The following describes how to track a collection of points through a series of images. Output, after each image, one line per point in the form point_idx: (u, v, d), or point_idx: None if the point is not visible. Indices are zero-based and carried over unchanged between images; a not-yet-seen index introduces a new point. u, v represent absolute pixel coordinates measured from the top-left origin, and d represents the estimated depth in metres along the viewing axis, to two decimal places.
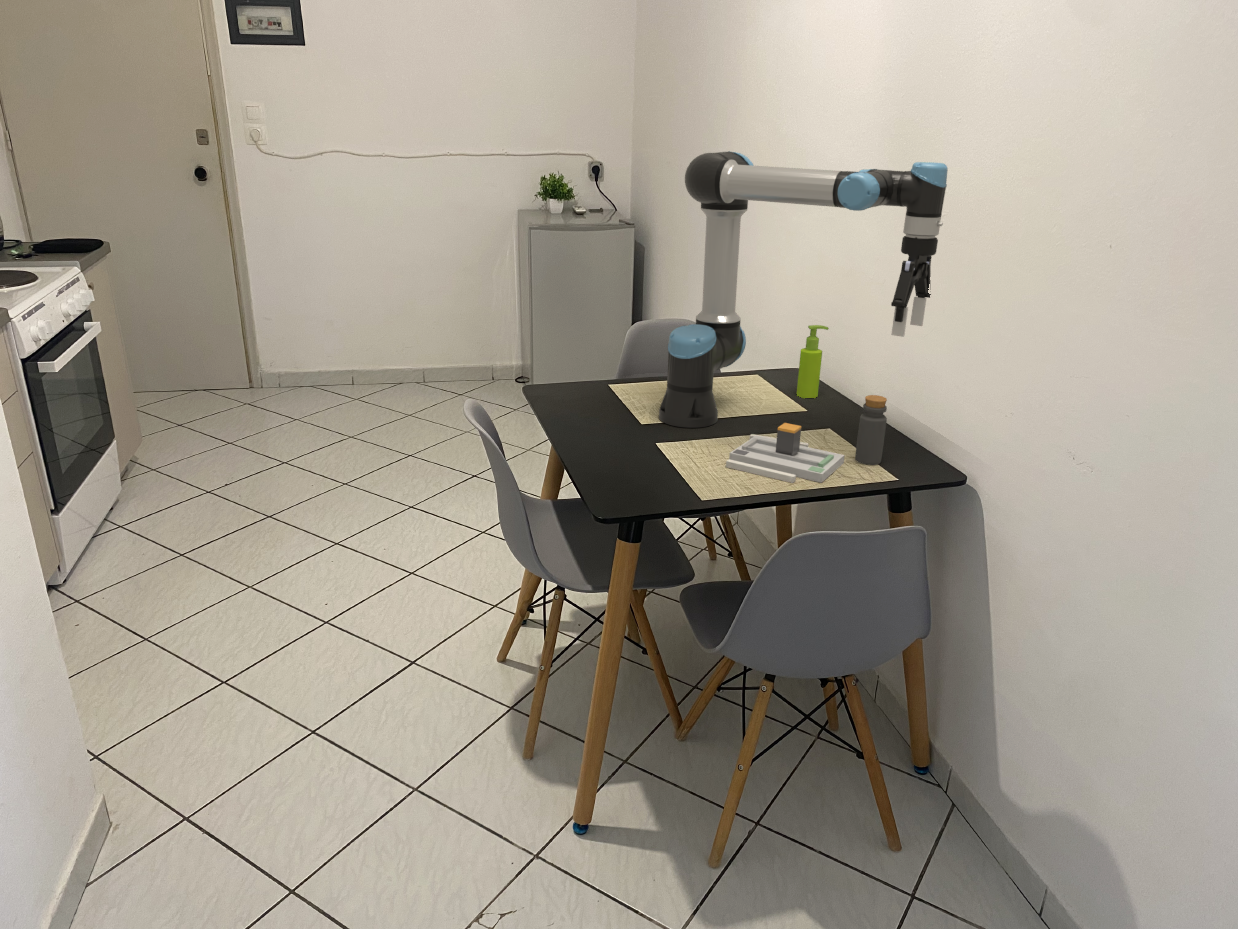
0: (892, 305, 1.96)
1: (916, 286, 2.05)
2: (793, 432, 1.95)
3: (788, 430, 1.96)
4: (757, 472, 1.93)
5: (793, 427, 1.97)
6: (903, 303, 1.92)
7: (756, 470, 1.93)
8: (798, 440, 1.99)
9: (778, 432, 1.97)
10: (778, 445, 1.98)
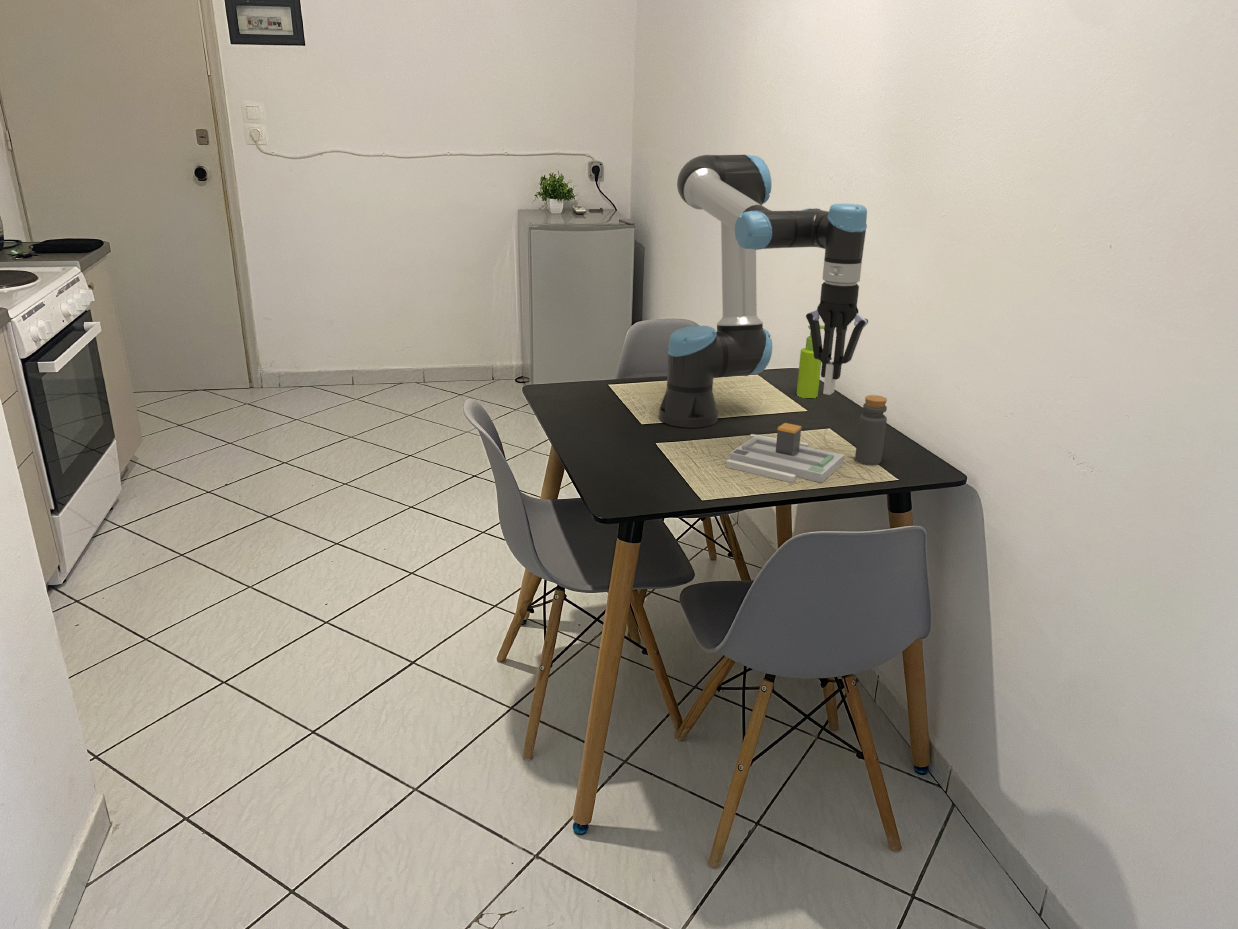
0: None
1: None
2: (793, 432, 1.95)
3: (788, 430, 1.96)
4: (757, 472, 1.93)
5: (793, 427, 1.97)
6: (814, 357, 1.88)
7: (756, 470, 1.93)
8: (798, 440, 1.99)
9: (778, 432, 1.97)
10: (778, 445, 1.98)
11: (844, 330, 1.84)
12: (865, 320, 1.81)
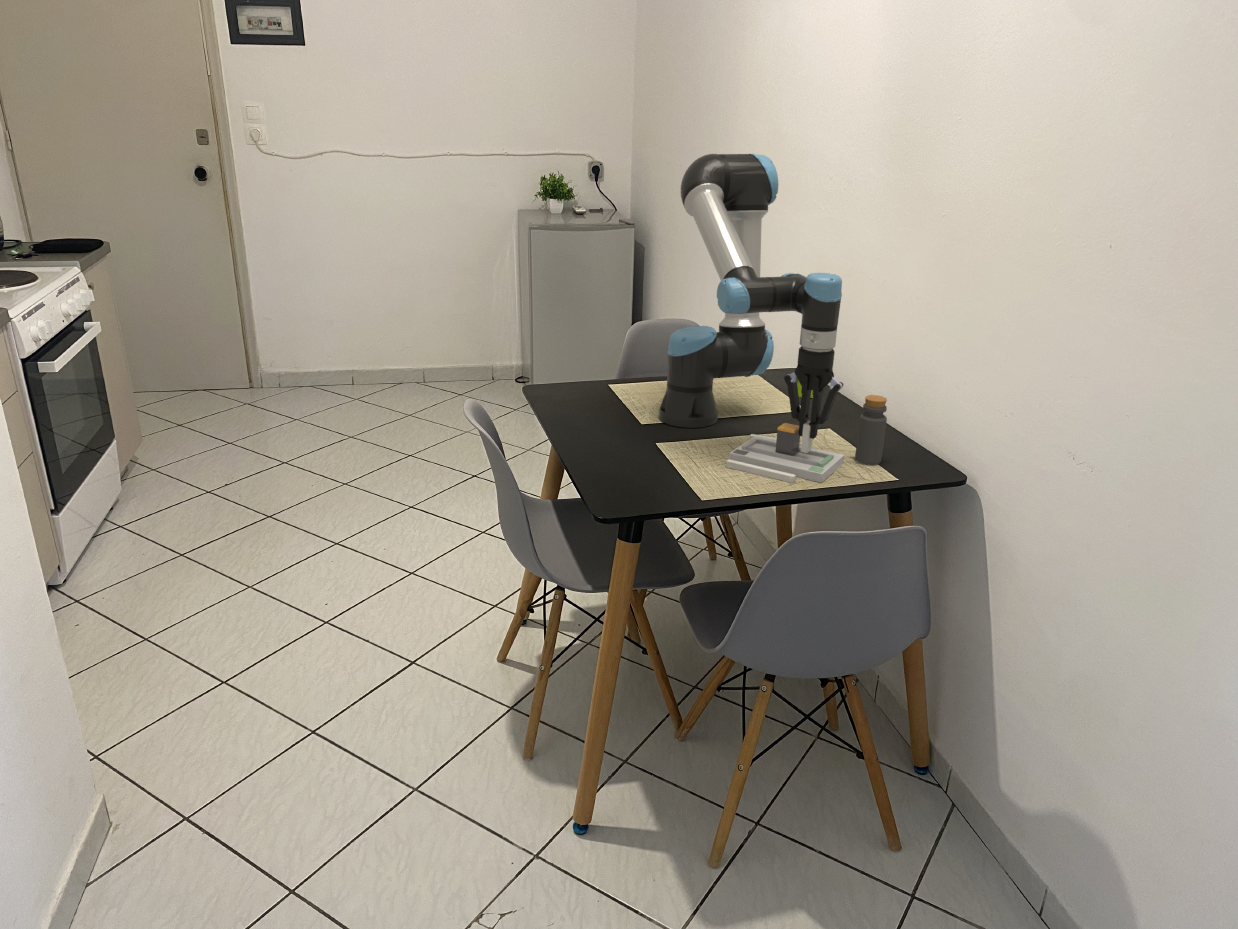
0: None
1: None
2: (793, 432, 1.95)
3: (788, 430, 1.96)
4: (757, 472, 1.93)
5: (793, 427, 1.97)
6: (792, 416, 1.95)
7: (756, 470, 1.93)
8: (798, 440, 1.99)
9: (778, 432, 1.97)
10: (778, 445, 1.98)
11: (821, 392, 1.92)
12: (840, 384, 1.88)
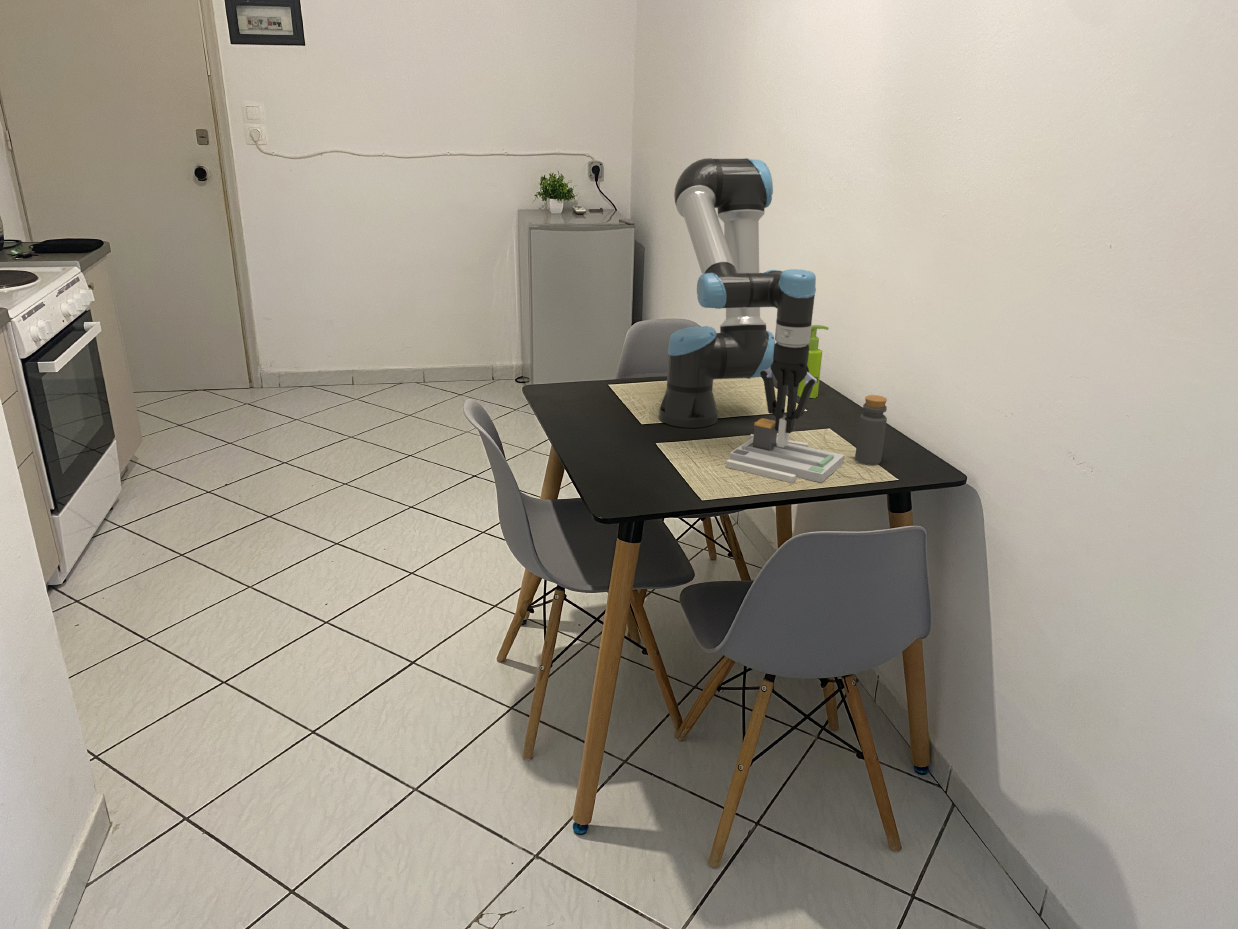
0: None
1: None
2: (769, 427, 1.98)
3: (765, 425, 1.99)
4: (757, 472, 1.93)
5: (770, 422, 2.00)
6: (769, 411, 1.98)
7: (756, 470, 1.93)
8: (775, 435, 2.02)
9: (755, 427, 2.00)
10: (755, 440, 2.01)
11: (796, 387, 1.94)
12: (815, 379, 1.91)
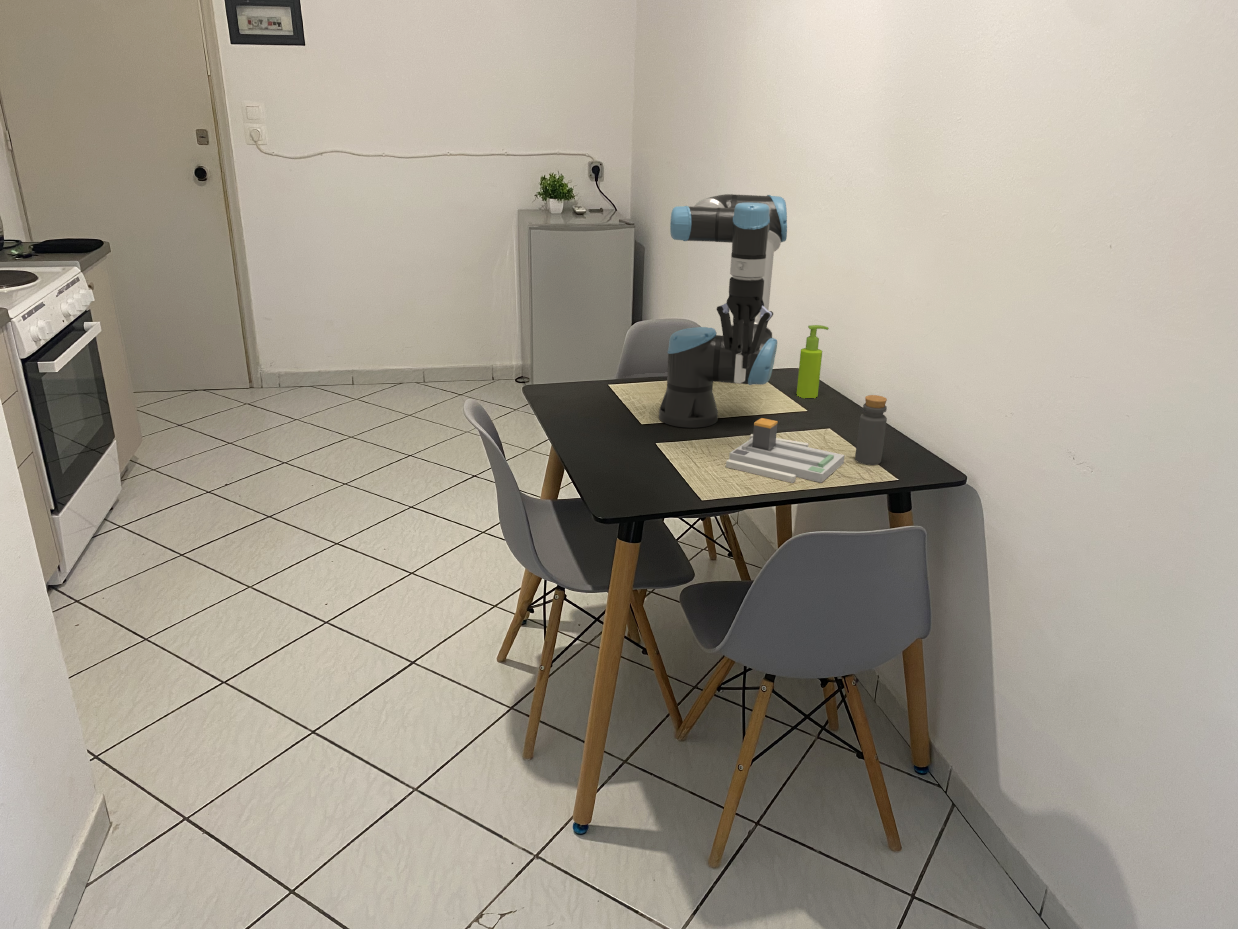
0: None
1: None
2: (769, 427, 1.98)
3: (764, 425, 1.99)
4: (757, 472, 1.93)
5: (769, 422, 2.00)
6: (725, 347, 1.99)
7: (756, 470, 1.93)
8: (774, 435, 2.02)
9: (754, 427, 2.00)
10: (754, 440, 2.01)
11: (752, 322, 1.95)
12: (770, 312, 1.92)
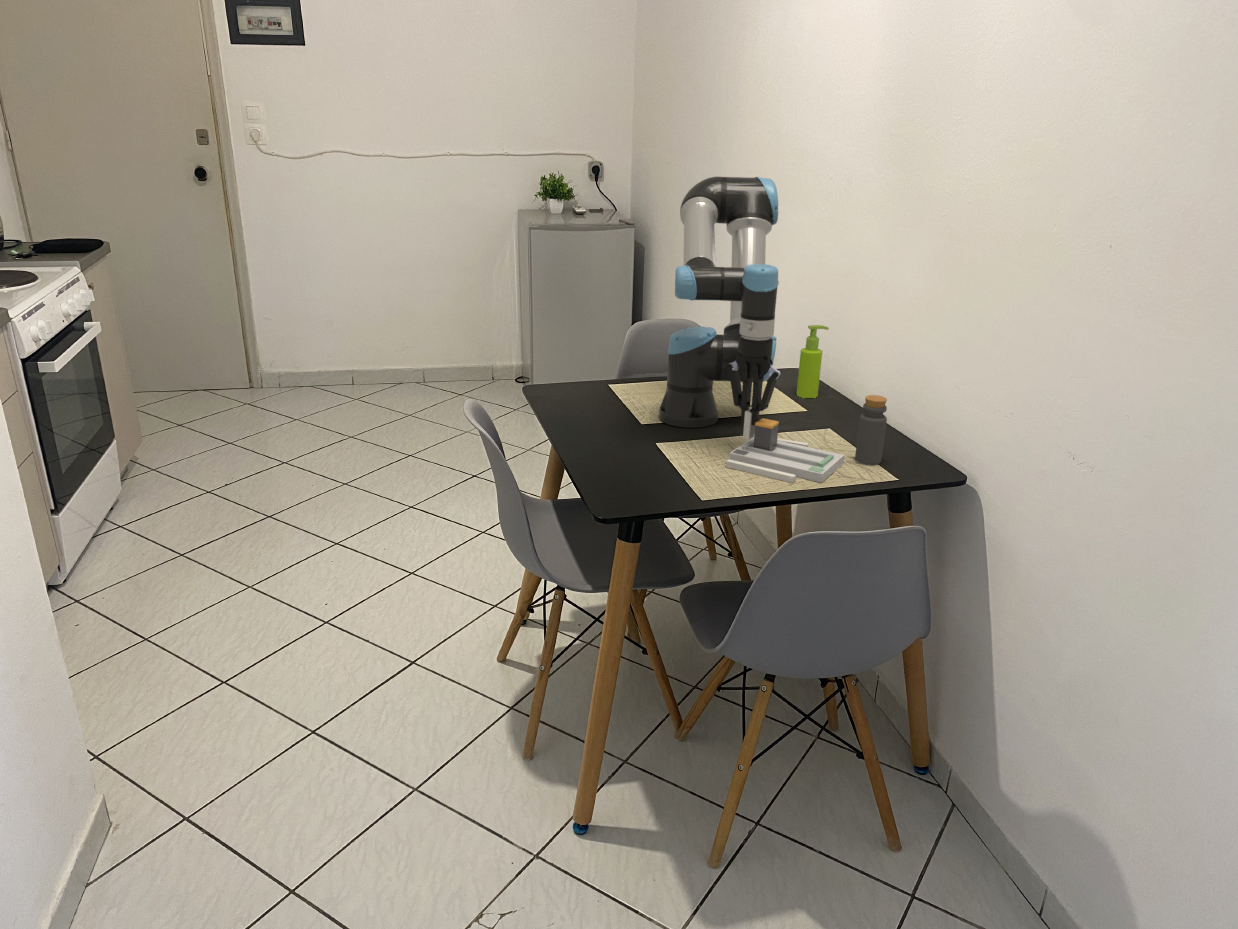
0: None
1: None
2: (770, 427, 1.98)
3: (765, 425, 1.99)
4: (757, 472, 1.93)
5: (770, 422, 2.00)
6: (734, 404, 2.02)
7: (756, 470, 1.93)
8: (776, 435, 2.01)
9: (756, 427, 2.00)
10: (756, 440, 2.01)
11: (761, 380, 1.98)
12: (778, 372, 1.95)
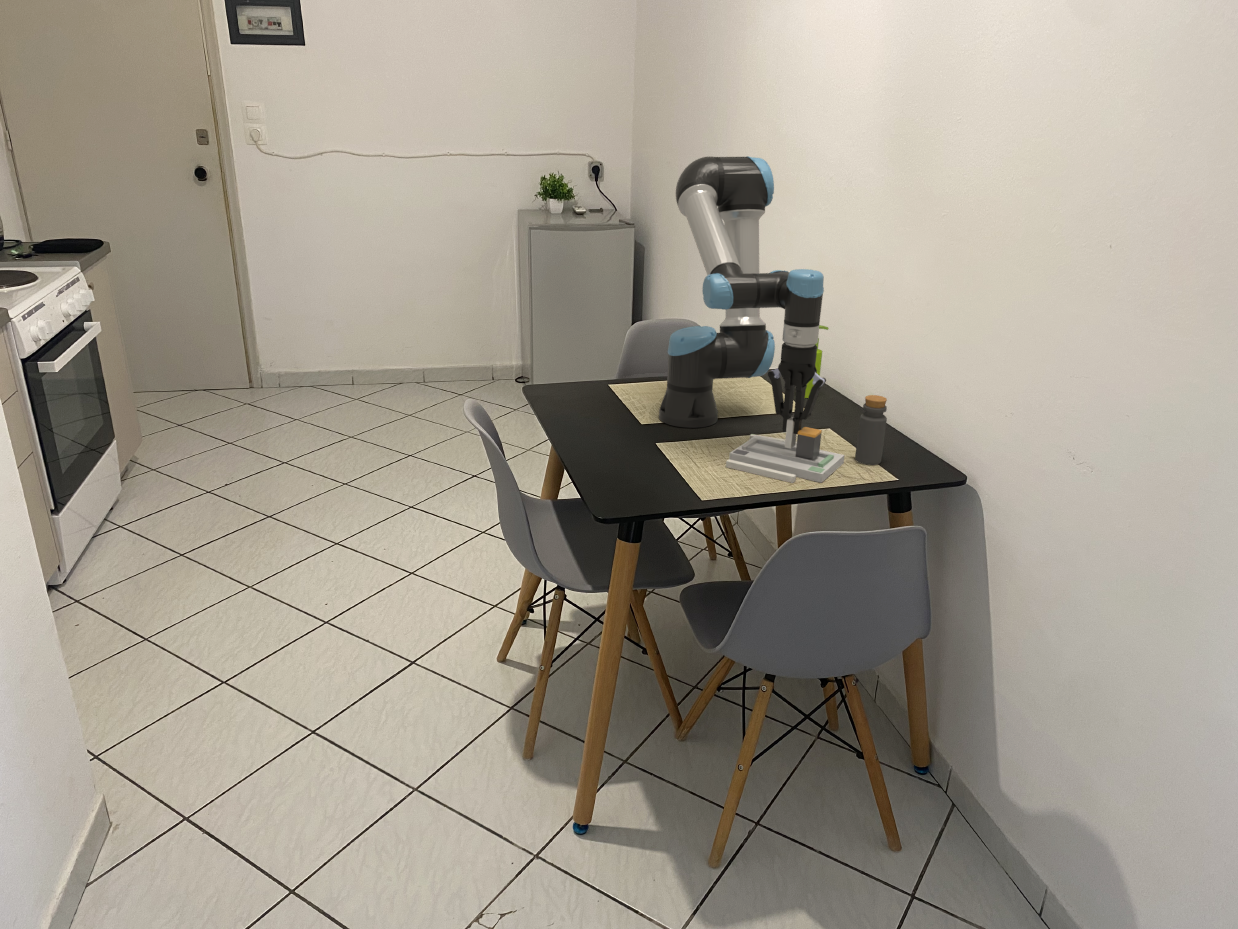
0: None
1: None
2: (813, 436, 1.93)
3: (808, 434, 1.94)
4: (757, 472, 1.93)
5: (813, 431, 1.95)
6: (776, 412, 1.97)
7: (756, 470, 1.93)
8: (818, 444, 1.96)
9: (798, 436, 1.95)
10: (798, 449, 1.96)
11: (804, 387, 1.93)
12: (823, 379, 1.90)
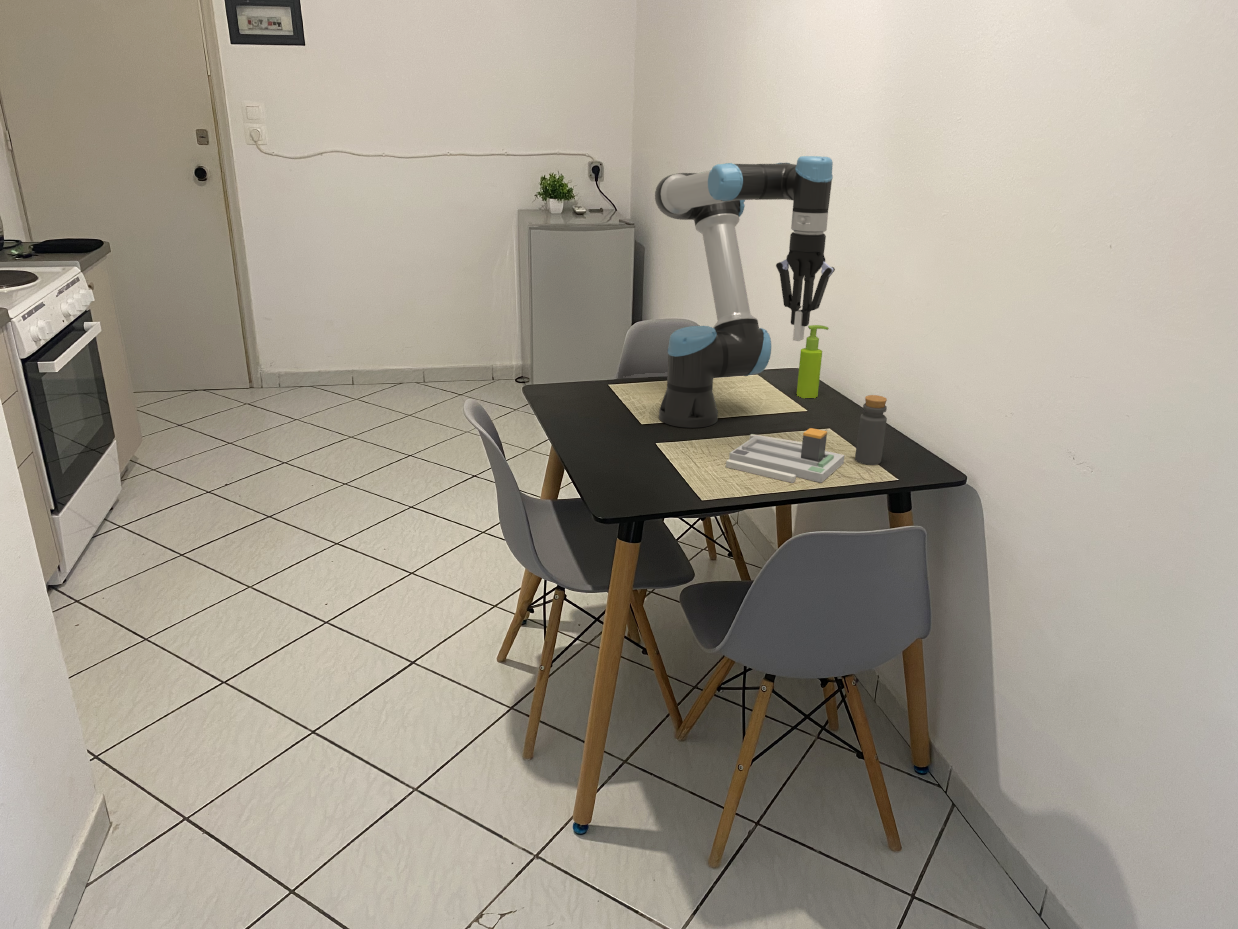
0: None
1: None
2: (819, 437, 1.92)
3: (814, 435, 1.93)
4: (757, 472, 1.93)
5: (819, 432, 1.94)
6: (784, 305, 1.97)
7: (756, 470, 1.93)
8: (824, 445, 1.96)
9: (804, 437, 1.94)
10: (803, 451, 1.95)
11: (812, 278, 1.93)
12: (831, 268, 1.90)
